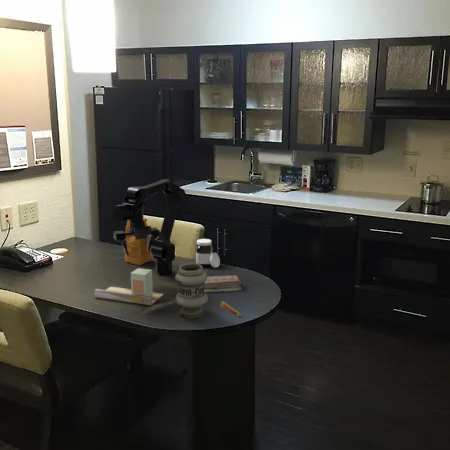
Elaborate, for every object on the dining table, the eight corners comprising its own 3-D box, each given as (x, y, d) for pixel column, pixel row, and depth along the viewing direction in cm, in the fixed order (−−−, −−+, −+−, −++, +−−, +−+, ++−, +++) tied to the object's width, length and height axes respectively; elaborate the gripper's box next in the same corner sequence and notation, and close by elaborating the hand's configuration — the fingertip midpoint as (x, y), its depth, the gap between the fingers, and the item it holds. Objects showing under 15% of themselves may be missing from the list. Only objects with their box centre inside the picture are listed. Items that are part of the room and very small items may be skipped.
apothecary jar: (168, 314, 194) (167, 268, 189) (187, 303, 204) (187, 259, 199) (195, 322, 188) (195, 274, 183) (214, 310, 198) (214, 265, 193)
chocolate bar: (236, 318, 192) (236, 312, 192) (219, 307, 202) (219, 301, 201) (242, 317, 193) (242, 311, 193) (225, 305, 203) (225, 300, 203)
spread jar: (197, 260, 254) (196, 237, 252) (220, 261, 254) (220, 238, 251) (194, 269, 243) (194, 244, 240) (219, 269, 243) (219, 245, 240)
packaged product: (237, 272, 226) (241, 280, 216) (237, 283, 227) (241, 291, 218) (195, 274, 223) (198, 282, 213) (195, 285, 224) (198, 294, 215)
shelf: (110, 289, 217) (110, 279, 216) (164, 297, 210) (163, 286, 209) (94, 300, 206) (94, 290, 205) (150, 309, 199) (150, 297, 197)
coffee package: (136, 256, 261) (135, 213, 255) (154, 261, 253) (153, 217, 248) (121, 261, 253) (119, 216, 247) (139, 266, 246) (137, 220, 240)
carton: (139, 294, 209) (138, 268, 206) (152, 296, 207) (152, 269, 204) (131, 300, 203) (130, 273, 200) (145, 302, 201) (144, 275, 198)
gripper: (118, 224, 207) (120, 261, 211) (163, 220, 215) (164, 256, 219) (112, 218, 217) (114, 254, 221) (156, 214, 225) (156, 249, 229)
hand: (137, 253), depth 222 cm, fingers open, 9 cm apart
